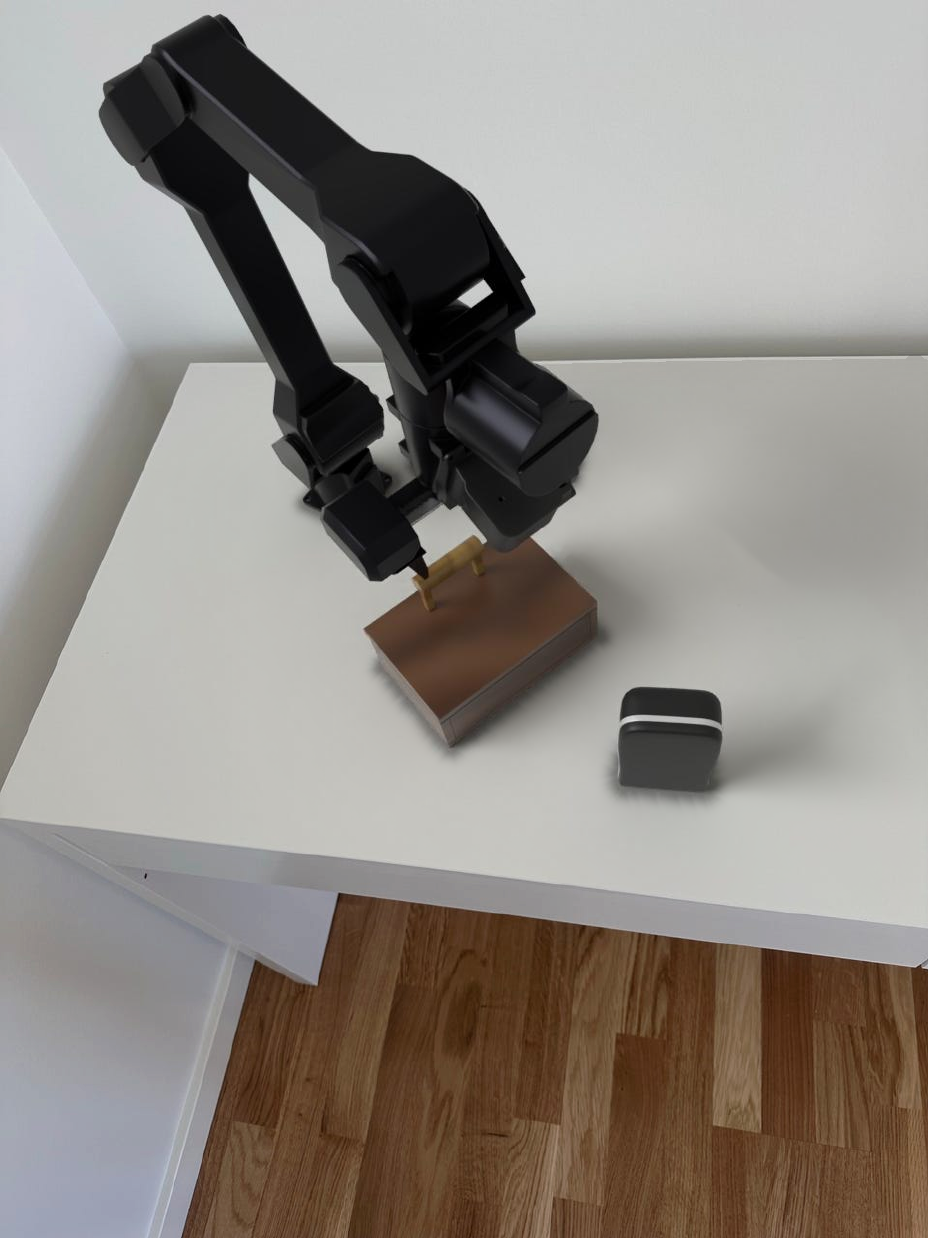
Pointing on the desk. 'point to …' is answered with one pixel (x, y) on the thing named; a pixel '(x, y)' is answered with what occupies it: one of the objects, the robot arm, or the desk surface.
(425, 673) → the lid
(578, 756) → the desk surface
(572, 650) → the chest
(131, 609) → the desk surface
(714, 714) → the battery charger
